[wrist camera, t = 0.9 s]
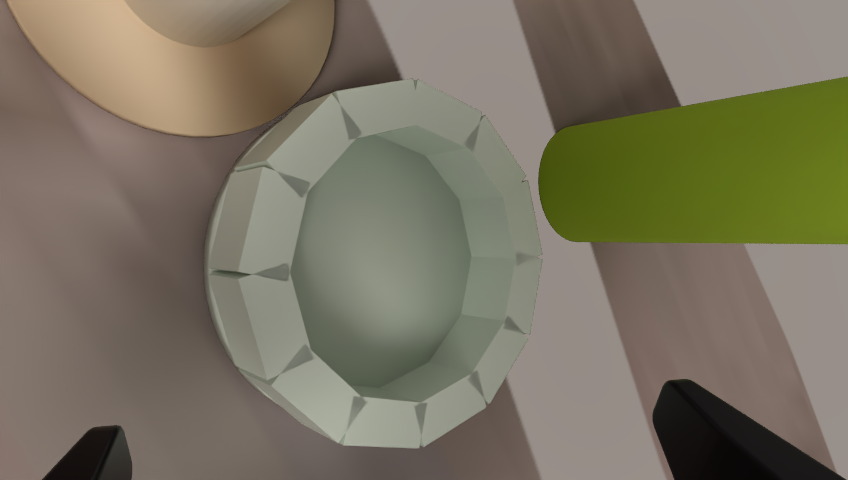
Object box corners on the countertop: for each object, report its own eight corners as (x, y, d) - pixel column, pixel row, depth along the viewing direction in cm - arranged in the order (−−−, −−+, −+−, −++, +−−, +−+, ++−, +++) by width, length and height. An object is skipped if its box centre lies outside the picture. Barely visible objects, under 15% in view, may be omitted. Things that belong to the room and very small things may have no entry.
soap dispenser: (525, 247, 29) (1231, 259, 13) (548, 108, 30) (1231, -38, 14) (599, 272, 32) (1225, 307, 16) (618, 148, 33) (1226, 67, 17)
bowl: (367, 482, 23) (422, 515, 20) (118, 273, 18) (147, 280, 15) (517, 252, 28) (578, 254, 26) (358, 36, 23) (414, 9, 20)
